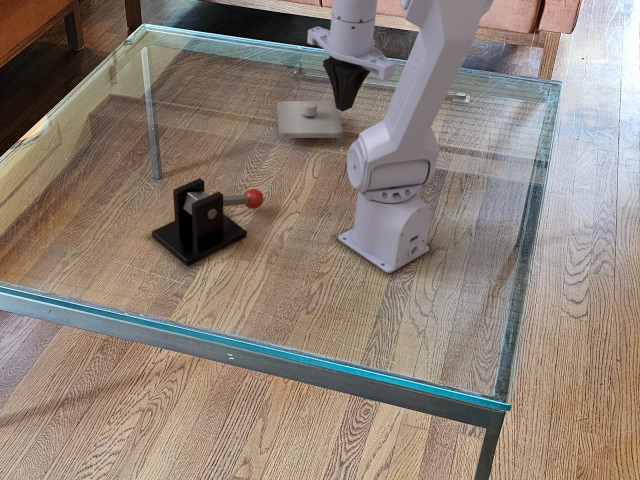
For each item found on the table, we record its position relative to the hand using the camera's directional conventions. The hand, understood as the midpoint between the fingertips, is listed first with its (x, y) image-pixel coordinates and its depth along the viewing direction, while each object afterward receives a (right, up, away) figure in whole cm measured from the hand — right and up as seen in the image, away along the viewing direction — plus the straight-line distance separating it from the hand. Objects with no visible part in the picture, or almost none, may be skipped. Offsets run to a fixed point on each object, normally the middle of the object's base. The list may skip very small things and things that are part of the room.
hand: (344, 107), depth 118 cm
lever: (-17, -15, -5) cm, 23 cm away
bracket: (-20, -19, -5) cm, 28 cm away
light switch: (-4, -1, +15) cm, 16 cm away
